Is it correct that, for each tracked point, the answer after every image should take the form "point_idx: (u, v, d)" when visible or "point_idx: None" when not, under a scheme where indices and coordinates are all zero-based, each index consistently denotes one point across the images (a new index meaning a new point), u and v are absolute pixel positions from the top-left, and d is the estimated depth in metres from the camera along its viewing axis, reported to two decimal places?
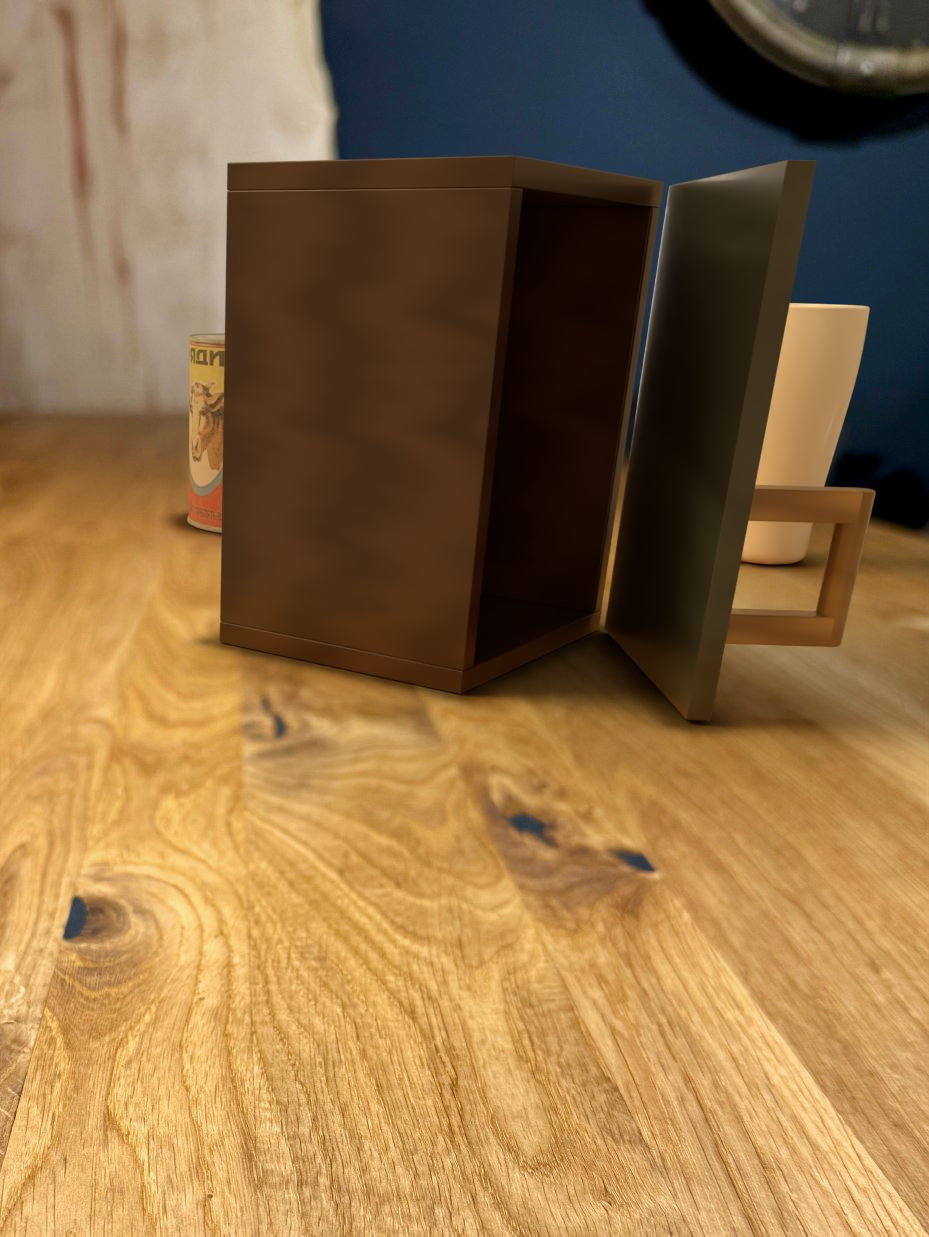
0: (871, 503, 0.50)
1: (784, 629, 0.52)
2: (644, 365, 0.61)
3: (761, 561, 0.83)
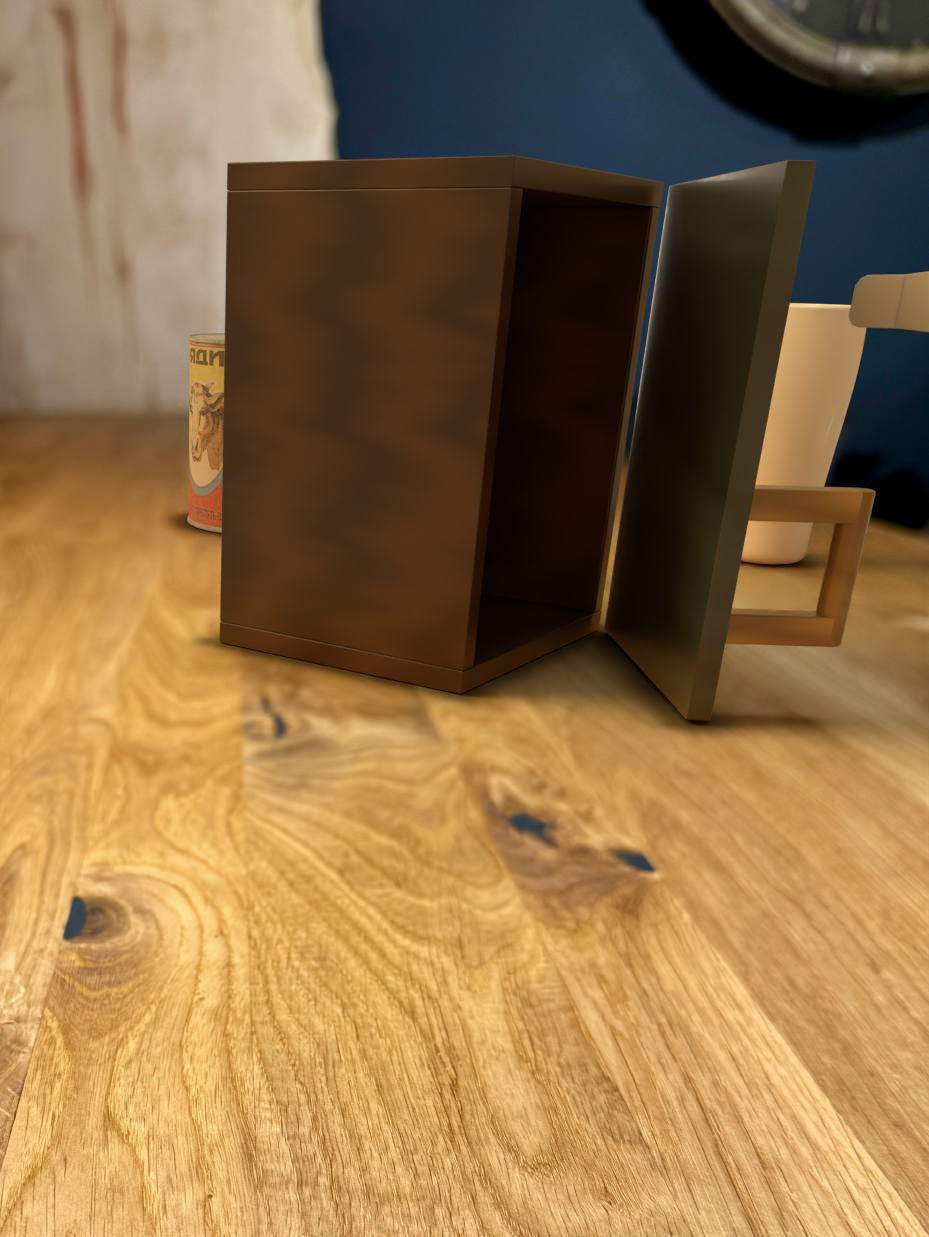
0: (871, 503, 0.50)
1: (784, 629, 0.52)
2: (644, 365, 0.61)
3: (761, 561, 0.83)
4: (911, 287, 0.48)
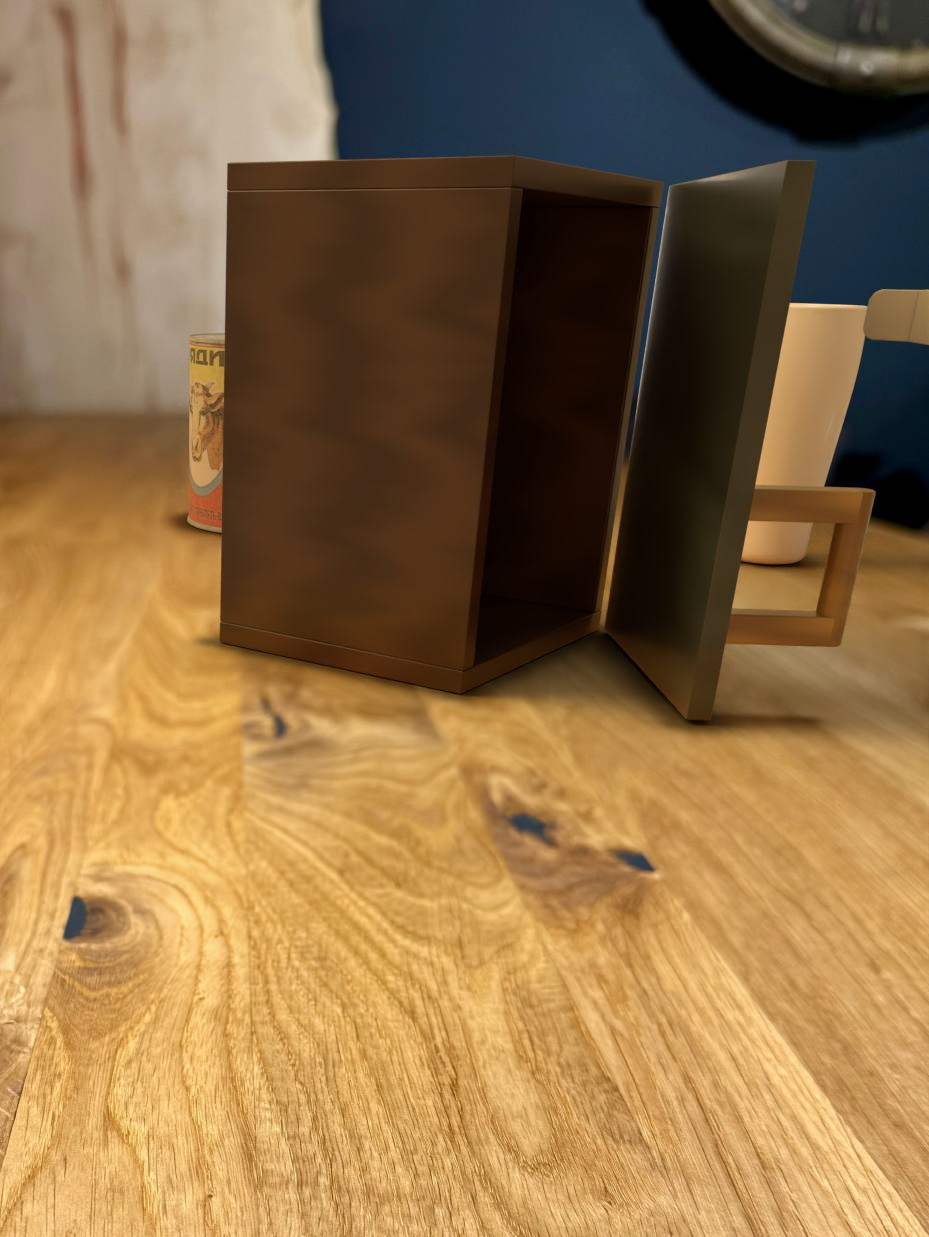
0: (871, 503, 0.50)
1: (784, 629, 0.52)
2: (644, 365, 0.61)
3: (761, 561, 0.83)
4: (925, 303, 0.50)
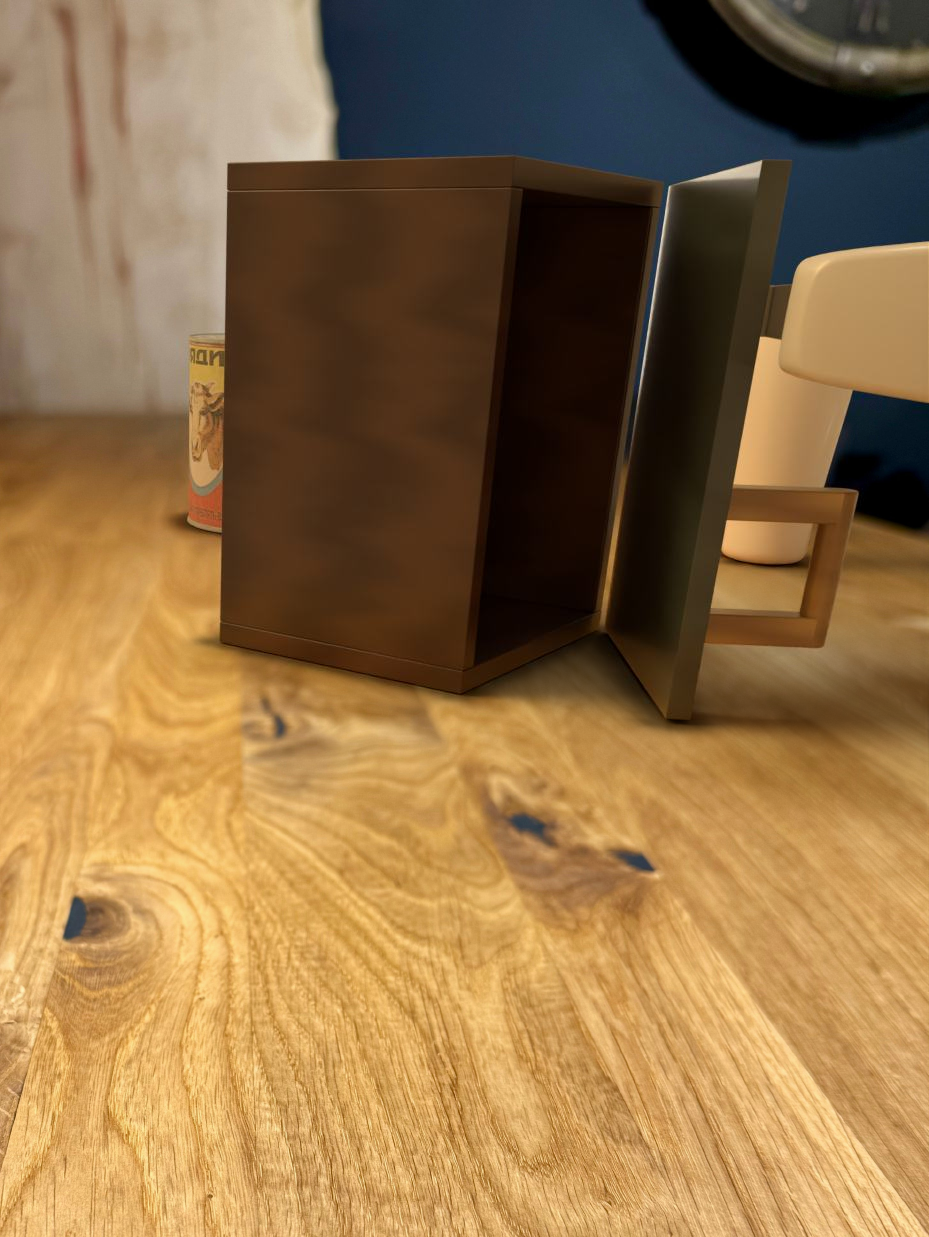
0: (853, 504, 0.50)
1: (766, 629, 0.52)
2: (643, 365, 0.61)
3: (761, 561, 0.83)
4: (779, 298, 0.50)
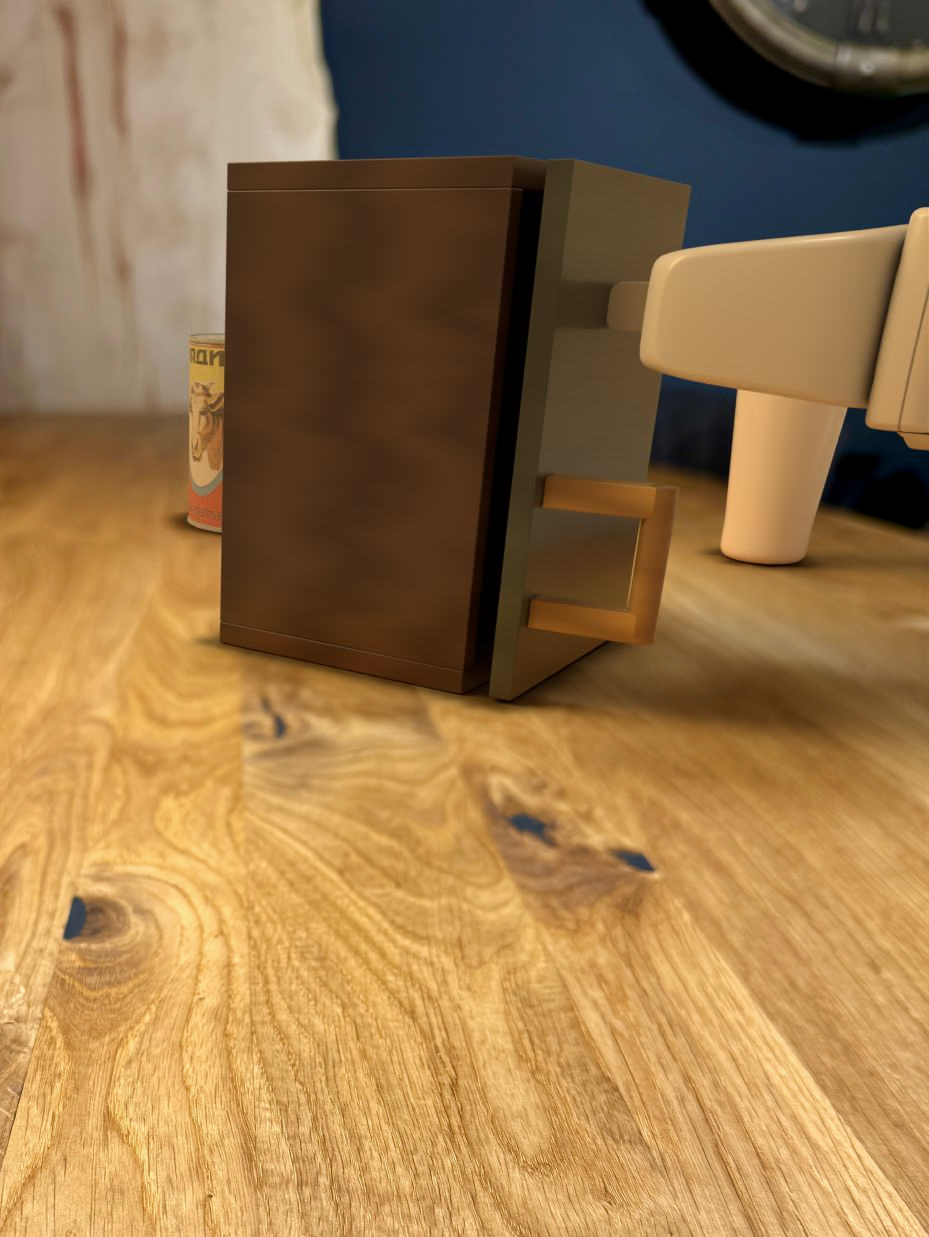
0: (667, 500, 0.49)
1: (587, 620, 0.53)
2: None
3: (761, 561, 0.83)
4: None
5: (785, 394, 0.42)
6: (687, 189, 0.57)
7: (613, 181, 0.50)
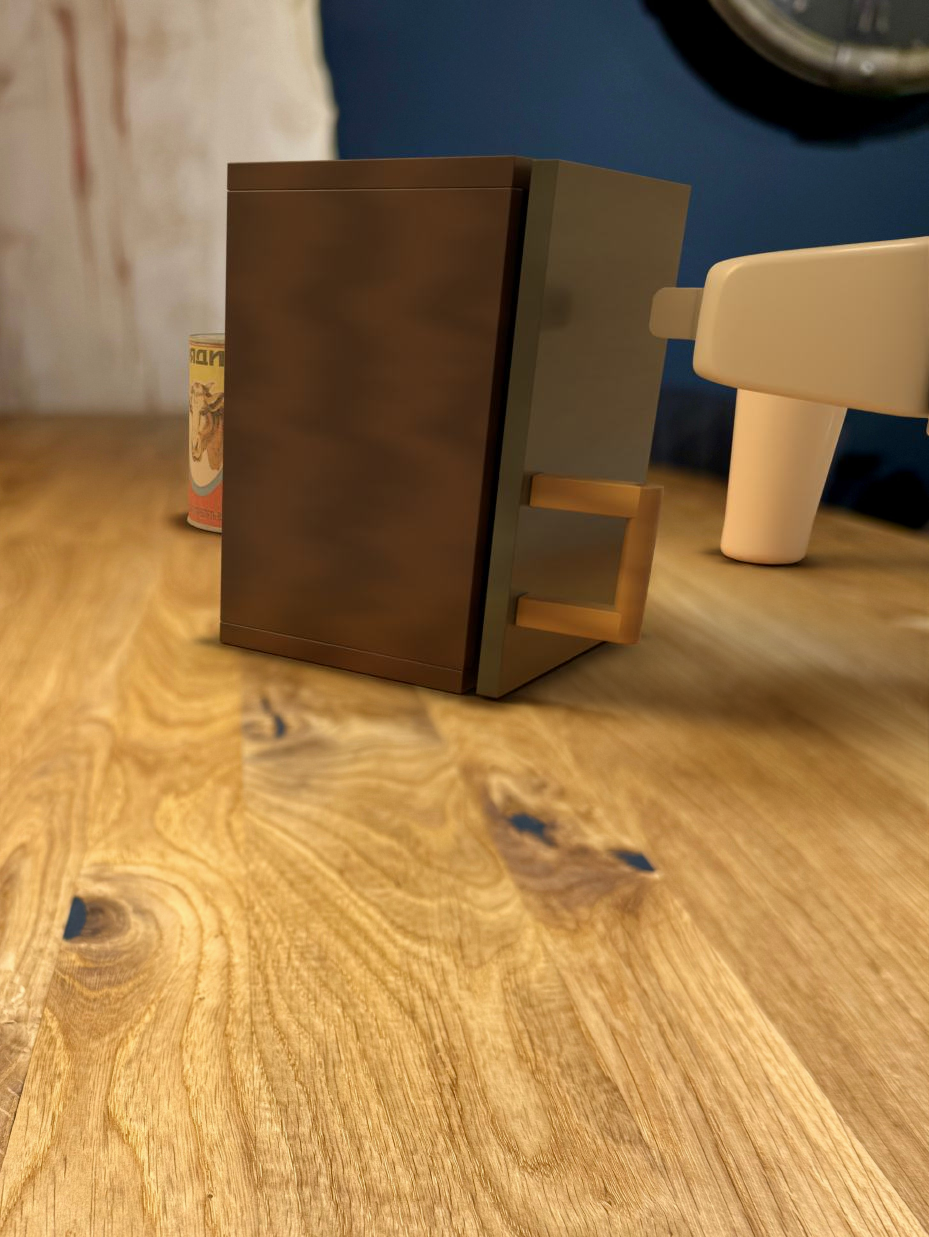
0: (652, 499, 0.49)
1: (574, 619, 0.53)
2: None
3: (761, 561, 0.83)
4: None
5: (845, 404, 0.41)
6: (687, 189, 0.57)
7: (603, 181, 0.50)
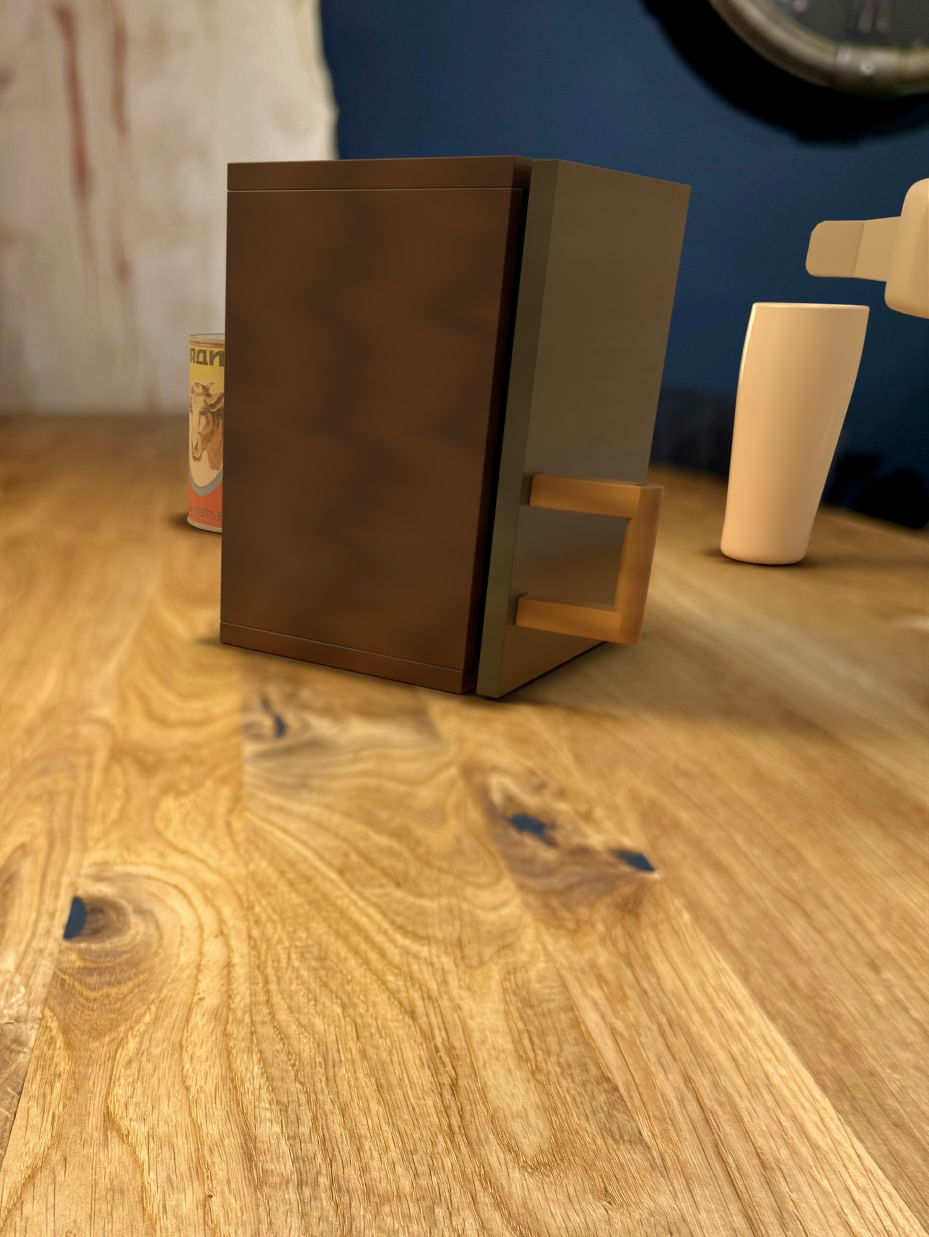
0: (652, 499, 0.49)
1: (574, 619, 0.53)
2: None
3: (761, 561, 0.83)
4: (870, 234, 0.46)
5: None
6: (687, 189, 0.57)
7: (603, 181, 0.50)
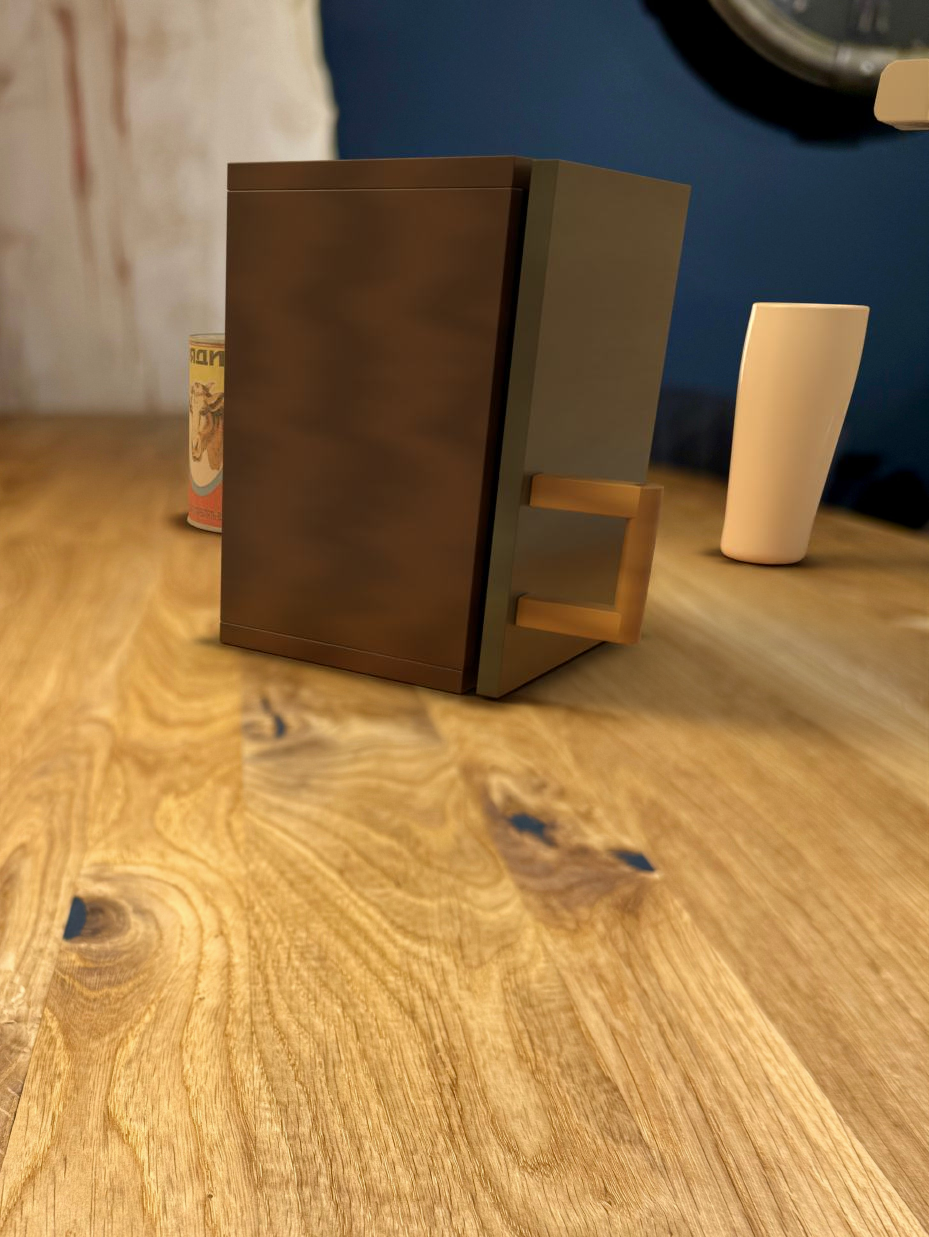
0: (652, 499, 0.49)
1: (574, 619, 0.53)
2: None
3: (761, 561, 0.83)
4: None
5: None
6: (687, 189, 0.57)
7: (603, 181, 0.50)
